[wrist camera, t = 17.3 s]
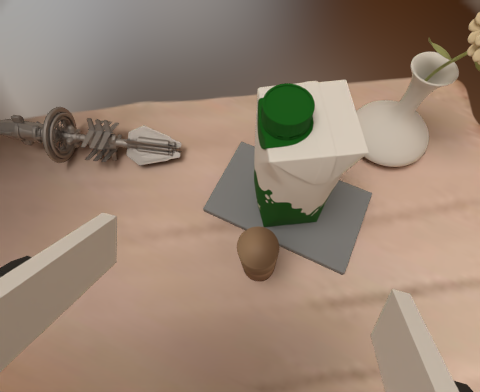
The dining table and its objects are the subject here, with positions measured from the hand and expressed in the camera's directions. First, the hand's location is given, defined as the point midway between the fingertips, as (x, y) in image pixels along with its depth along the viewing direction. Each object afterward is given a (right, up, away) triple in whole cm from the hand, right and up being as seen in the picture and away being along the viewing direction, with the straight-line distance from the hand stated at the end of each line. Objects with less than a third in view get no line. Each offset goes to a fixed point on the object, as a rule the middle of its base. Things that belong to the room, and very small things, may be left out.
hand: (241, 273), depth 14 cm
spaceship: (-26, +11, +33) cm, 43 cm away
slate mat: (+7, +3, +28) cm, 28 cm away
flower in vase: (+23, +12, +31) cm, 40 cm away
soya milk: (+6, +3, +27) cm, 28 cm away
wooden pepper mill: (+2, -5, +24) cm, 25 cm away
